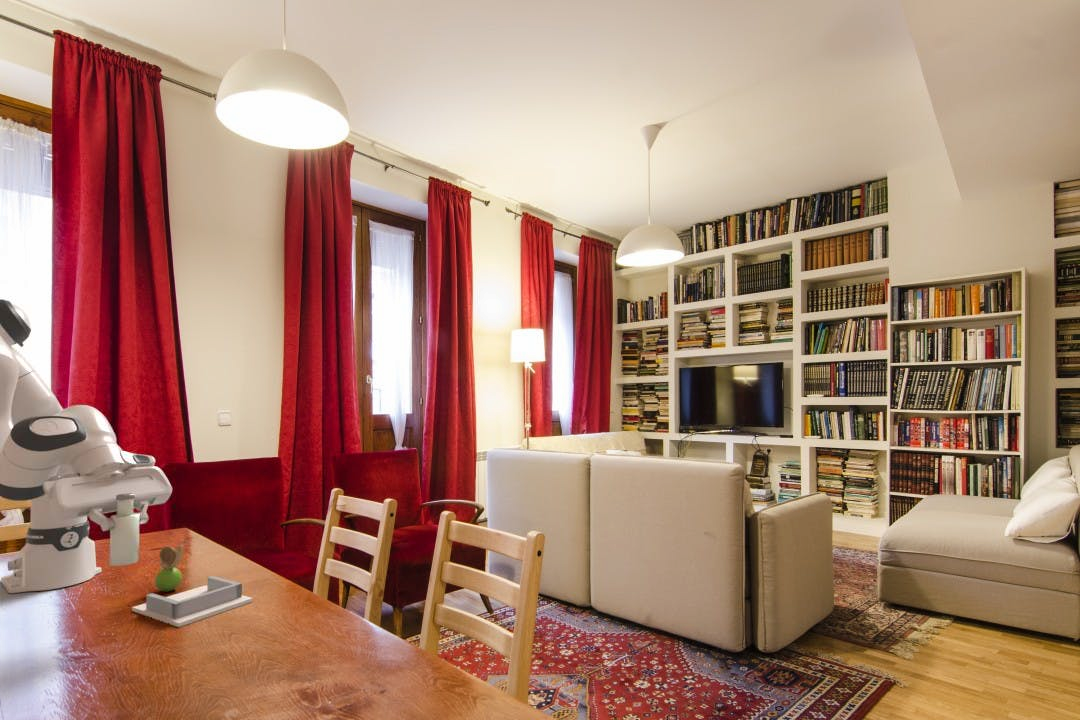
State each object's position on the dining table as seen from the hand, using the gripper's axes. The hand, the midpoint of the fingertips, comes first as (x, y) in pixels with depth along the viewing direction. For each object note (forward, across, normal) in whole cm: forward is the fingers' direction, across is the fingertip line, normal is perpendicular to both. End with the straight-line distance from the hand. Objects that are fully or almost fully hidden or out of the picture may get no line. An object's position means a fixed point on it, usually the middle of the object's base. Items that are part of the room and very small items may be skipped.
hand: (126, 525), depth 114 cm
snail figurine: (+1, +19, +29) cm, 35 cm away
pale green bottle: (+5, 0, +6) cm, 7 cm away
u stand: (+12, +16, +18) cm, 27 cm away
